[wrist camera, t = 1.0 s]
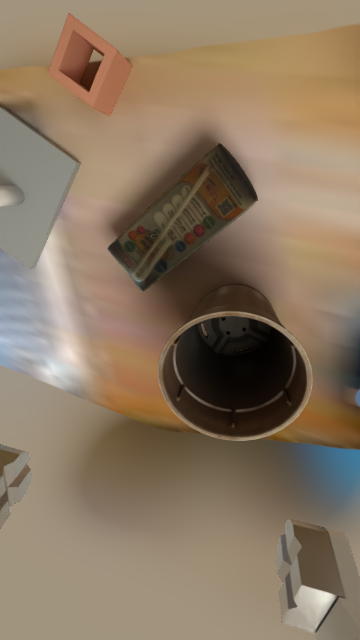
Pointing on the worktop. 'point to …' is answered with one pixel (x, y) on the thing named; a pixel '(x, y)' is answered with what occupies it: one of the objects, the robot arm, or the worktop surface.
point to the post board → (30, 188)
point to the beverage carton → (184, 217)
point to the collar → (75, 59)
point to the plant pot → (235, 368)
